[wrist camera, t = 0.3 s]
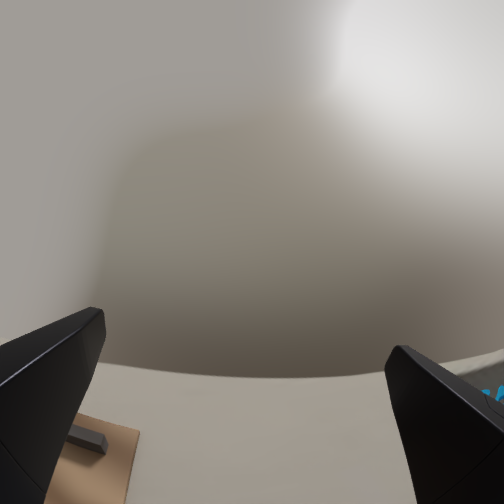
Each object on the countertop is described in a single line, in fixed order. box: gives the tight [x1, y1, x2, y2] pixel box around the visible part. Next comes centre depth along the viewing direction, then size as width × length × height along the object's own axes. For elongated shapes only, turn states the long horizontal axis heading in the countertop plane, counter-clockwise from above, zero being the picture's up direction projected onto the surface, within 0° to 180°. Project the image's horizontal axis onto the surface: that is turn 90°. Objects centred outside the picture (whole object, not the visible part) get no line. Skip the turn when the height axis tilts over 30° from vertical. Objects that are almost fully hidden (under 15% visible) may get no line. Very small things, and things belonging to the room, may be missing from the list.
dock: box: [44, 413, 140, 504], centre depth 10 cm, size 16×13×2 cm
